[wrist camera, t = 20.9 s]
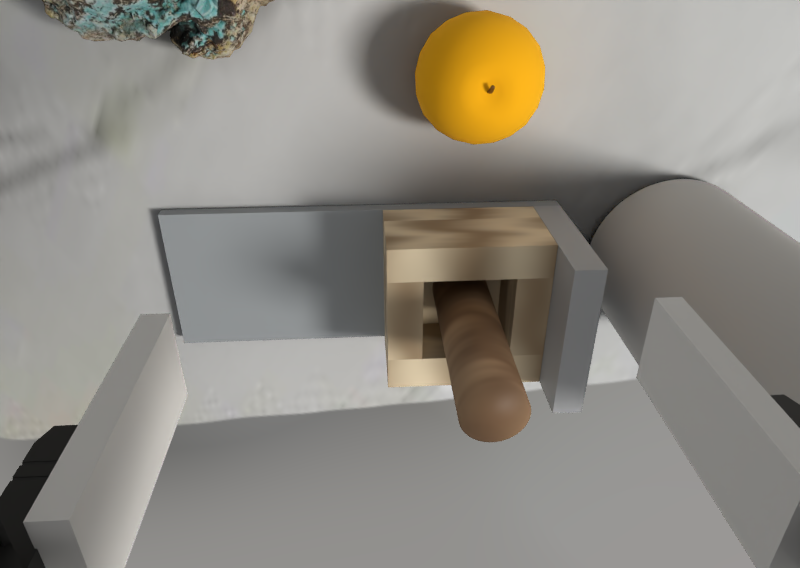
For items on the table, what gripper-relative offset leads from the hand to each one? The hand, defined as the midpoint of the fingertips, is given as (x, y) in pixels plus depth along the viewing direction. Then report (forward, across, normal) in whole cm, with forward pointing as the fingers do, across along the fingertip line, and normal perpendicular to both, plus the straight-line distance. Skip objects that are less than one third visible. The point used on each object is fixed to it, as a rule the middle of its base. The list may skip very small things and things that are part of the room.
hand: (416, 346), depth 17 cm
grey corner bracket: (+29, -2, -13) cm, 32 cm away
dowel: (+26, +6, -13) cm, 29 cm away
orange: (+29, +6, +2) cm, 30 cm away
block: (+28, +6, -13) cm, 31 cm away
